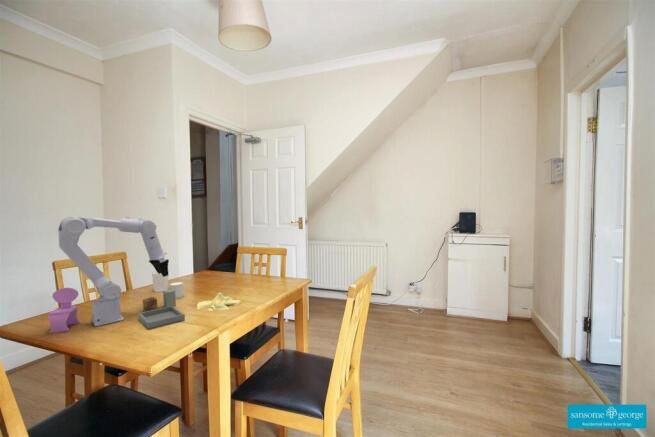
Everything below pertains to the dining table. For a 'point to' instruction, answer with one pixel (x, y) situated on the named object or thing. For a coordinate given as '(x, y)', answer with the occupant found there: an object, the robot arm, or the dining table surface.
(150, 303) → the short block
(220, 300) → the cloth
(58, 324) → the toy chair
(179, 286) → the shot glass
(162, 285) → the white cup
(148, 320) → the tray
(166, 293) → the tall block
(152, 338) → the dining table surface
